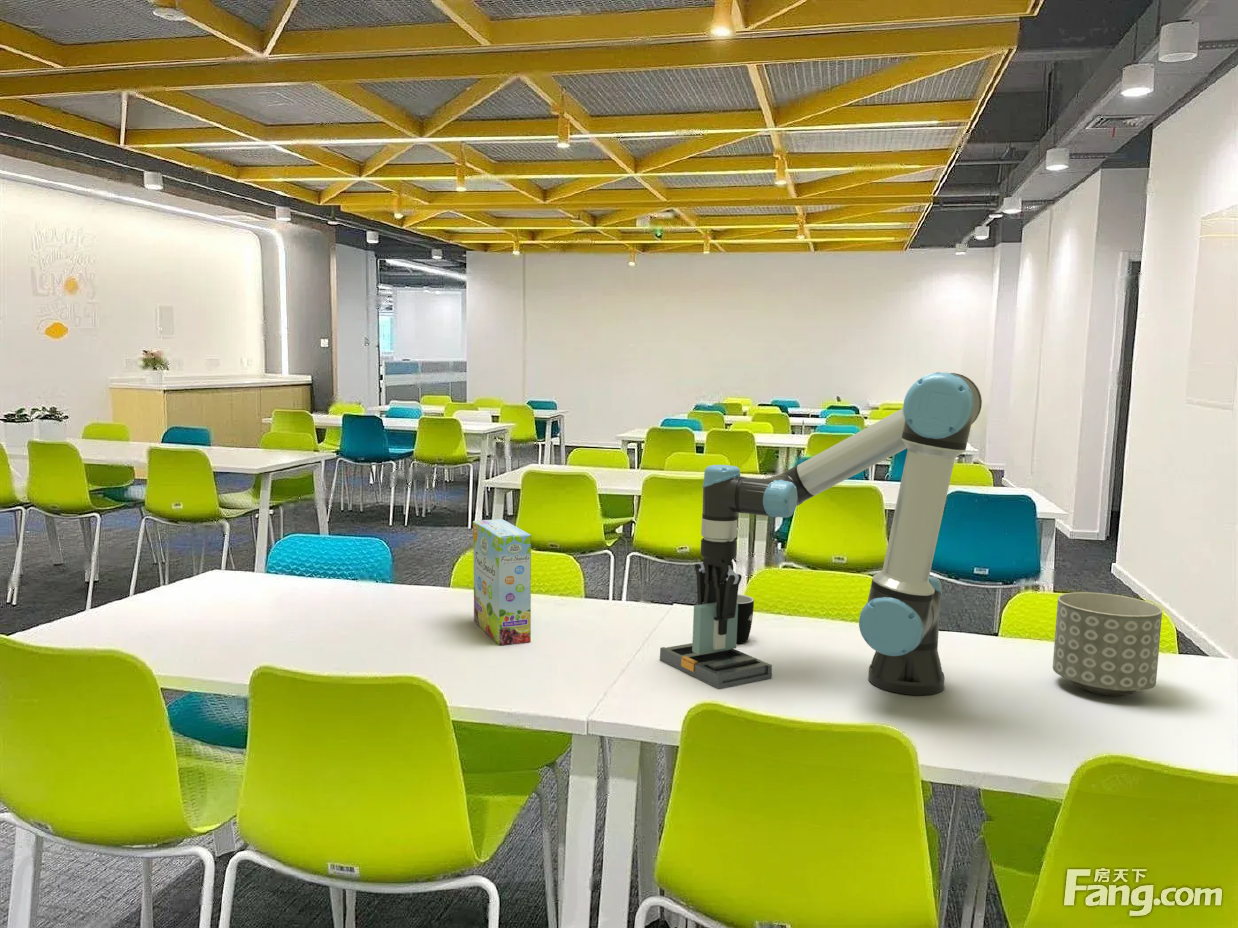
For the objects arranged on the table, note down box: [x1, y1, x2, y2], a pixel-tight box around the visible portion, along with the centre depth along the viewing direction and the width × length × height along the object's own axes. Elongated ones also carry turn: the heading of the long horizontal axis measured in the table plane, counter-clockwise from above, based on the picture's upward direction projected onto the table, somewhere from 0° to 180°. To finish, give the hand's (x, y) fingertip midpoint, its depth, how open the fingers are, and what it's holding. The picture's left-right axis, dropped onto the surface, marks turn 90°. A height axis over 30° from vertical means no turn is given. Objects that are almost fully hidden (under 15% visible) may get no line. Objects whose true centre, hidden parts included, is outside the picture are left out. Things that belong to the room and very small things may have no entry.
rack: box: [659, 642, 773, 690], centre depth 199 cm, size 21×14×4 cm
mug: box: [736, 594, 755, 645], centre depth 222 cm, size 12×9×10 cm
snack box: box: [472, 518, 532, 646], centre depth 222 cm, size 22×9×26 cm, turn 25°
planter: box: [1052, 591, 1163, 697], centre depth 192 cm, size 19×19×18 cm
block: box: [692, 603, 738, 655], centre depth 199 cm, size 2×10×10 cm, turn 122°
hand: (714, 646), depth 199 cm, fingers closed on block, 2 cm apart
